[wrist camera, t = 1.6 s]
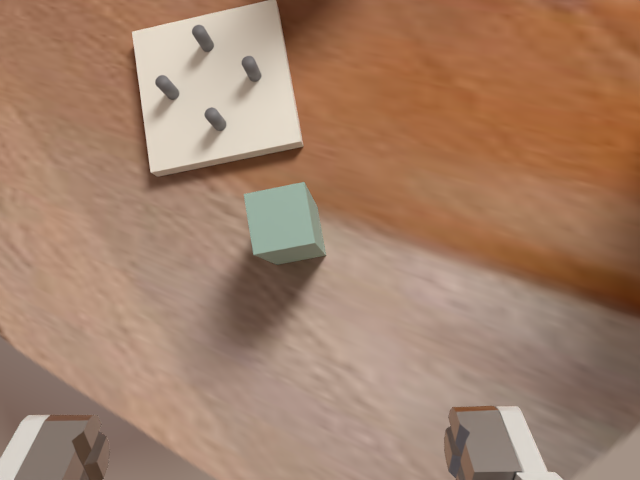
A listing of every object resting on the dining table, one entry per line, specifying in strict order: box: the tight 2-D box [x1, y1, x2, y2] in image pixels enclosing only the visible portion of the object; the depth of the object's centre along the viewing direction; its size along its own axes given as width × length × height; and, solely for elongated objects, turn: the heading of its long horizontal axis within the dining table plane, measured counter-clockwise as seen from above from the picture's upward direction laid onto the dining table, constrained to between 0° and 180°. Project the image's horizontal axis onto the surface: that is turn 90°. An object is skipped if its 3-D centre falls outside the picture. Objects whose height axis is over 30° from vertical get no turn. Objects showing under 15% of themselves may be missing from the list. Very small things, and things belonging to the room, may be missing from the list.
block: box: [244, 182, 326, 265], centre depth 40 cm, size 4×4×9 cm
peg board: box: [132, 0, 304, 177], centre depth 45 cm, size 14×14×4 cm
